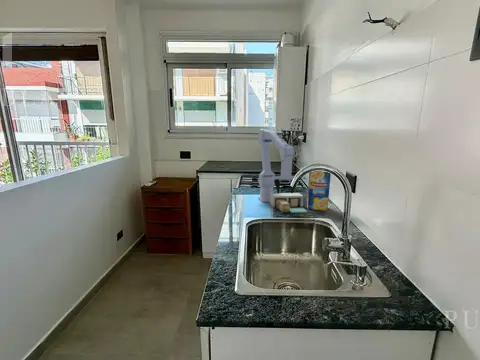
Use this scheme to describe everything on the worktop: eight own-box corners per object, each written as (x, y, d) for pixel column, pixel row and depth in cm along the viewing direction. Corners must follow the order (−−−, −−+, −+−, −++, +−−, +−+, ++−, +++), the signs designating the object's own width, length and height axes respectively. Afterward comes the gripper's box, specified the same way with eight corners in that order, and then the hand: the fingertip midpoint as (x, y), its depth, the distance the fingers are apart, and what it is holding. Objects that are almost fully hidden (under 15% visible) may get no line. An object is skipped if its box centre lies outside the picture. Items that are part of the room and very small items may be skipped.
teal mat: (287, 208, 153) (287, 207, 153) (302, 208, 154) (302, 207, 154) (291, 212, 146) (291, 211, 146) (307, 212, 147) (307, 211, 147)
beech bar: (274, 206, 159) (275, 198, 158) (281, 205, 160) (281, 198, 159) (282, 212, 147) (283, 204, 146) (289, 212, 148) (289, 204, 147)
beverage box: (327, 210, 152) (331, 171, 148) (307, 208, 154) (310, 170, 149) (325, 206, 159) (329, 169, 154) (306, 205, 160) (309, 169, 156)
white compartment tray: (269, 203, 162) (270, 193, 161) (298, 203, 165) (299, 192, 164) (272, 207, 156) (273, 196, 154) (302, 206, 158) (303, 195, 157)
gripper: (275, 169, 140) (273, 195, 143) (301, 169, 142) (300, 194, 144) (271, 167, 147) (270, 191, 149) (297, 167, 149) (295, 191, 151)
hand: (284, 193), depth 147 cm, fingers open, 7 cm apart
